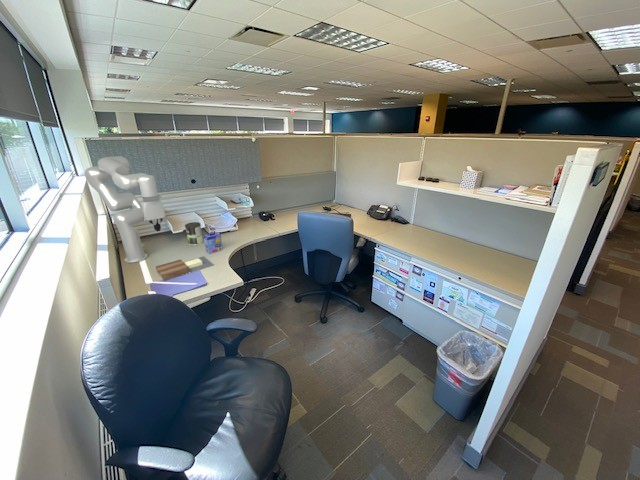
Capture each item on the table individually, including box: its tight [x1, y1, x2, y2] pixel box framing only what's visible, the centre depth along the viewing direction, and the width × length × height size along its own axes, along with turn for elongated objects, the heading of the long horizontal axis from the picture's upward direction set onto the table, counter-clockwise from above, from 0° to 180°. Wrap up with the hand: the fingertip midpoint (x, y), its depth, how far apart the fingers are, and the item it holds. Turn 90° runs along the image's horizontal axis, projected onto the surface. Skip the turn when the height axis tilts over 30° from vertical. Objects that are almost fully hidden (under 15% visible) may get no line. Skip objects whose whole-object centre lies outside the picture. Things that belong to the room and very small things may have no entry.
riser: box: [155, 259, 190, 282], centre depth 161 cm, size 15×14×3 cm
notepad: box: [183, 257, 203, 269], centre depth 168 cm, size 6×9×2 cm, turn 133°
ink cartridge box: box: [203, 231, 223, 255], centre depth 186 cm, size 10×6×14 cm, turn 137°
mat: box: [185, 255, 215, 273], centre depth 170 cm, size 16×14×1 cm
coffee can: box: [184, 221, 204, 246], centre depth 199 cm, size 10×10×14 cm
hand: (158, 230), depth 155 cm, fingers closed
